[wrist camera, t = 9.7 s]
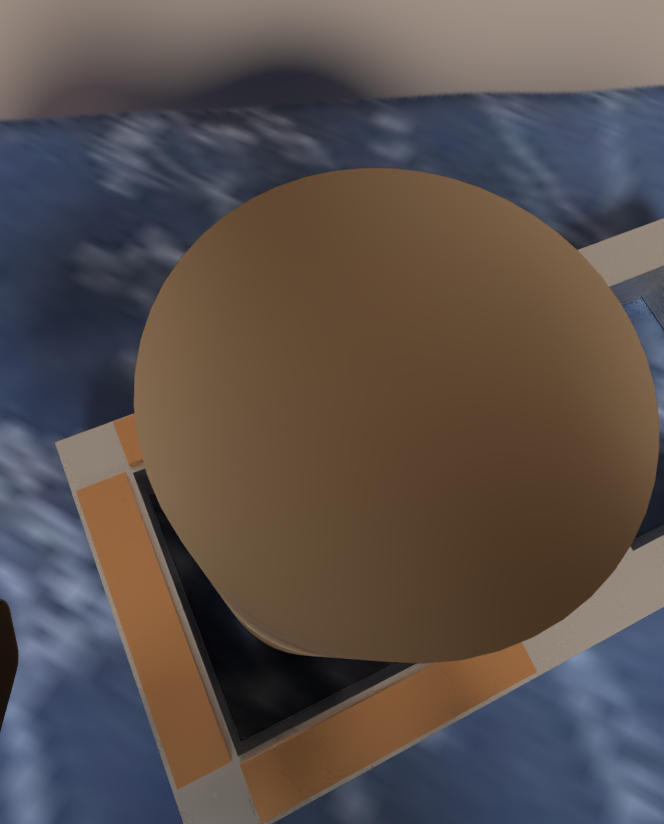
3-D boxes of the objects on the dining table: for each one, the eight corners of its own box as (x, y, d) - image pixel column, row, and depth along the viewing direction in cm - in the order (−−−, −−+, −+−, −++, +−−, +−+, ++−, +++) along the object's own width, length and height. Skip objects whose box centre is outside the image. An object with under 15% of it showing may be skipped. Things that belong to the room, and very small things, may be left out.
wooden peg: (309, 697, 17) (430, 811, 5) (182, 561, 18) (15, 368, 6) (430, 561, 18) (751, 391, 6) (309, 443, 19) (389, 95, 7)
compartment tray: (206, 833, 16) (195, 869, 13) (80, 469, 18) (51, 438, 16) (824, 497, 21) (906, 474, 18) (651, 250, 23) (701, 200, 21)
